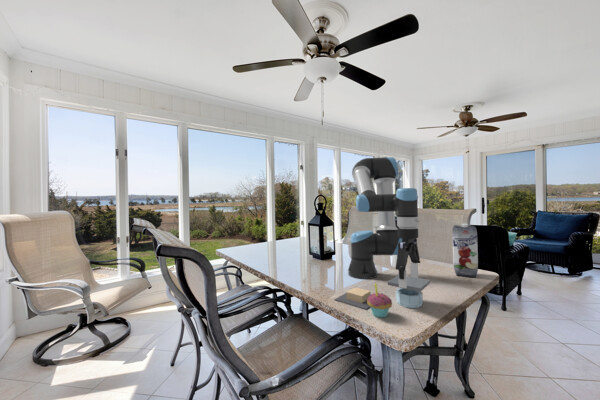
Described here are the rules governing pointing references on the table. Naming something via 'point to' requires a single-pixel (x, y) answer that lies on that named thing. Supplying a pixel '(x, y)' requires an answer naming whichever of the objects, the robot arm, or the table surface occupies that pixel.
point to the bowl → (409, 298)
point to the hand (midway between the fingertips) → (408, 283)
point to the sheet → (411, 283)
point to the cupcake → (379, 303)
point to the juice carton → (465, 250)
